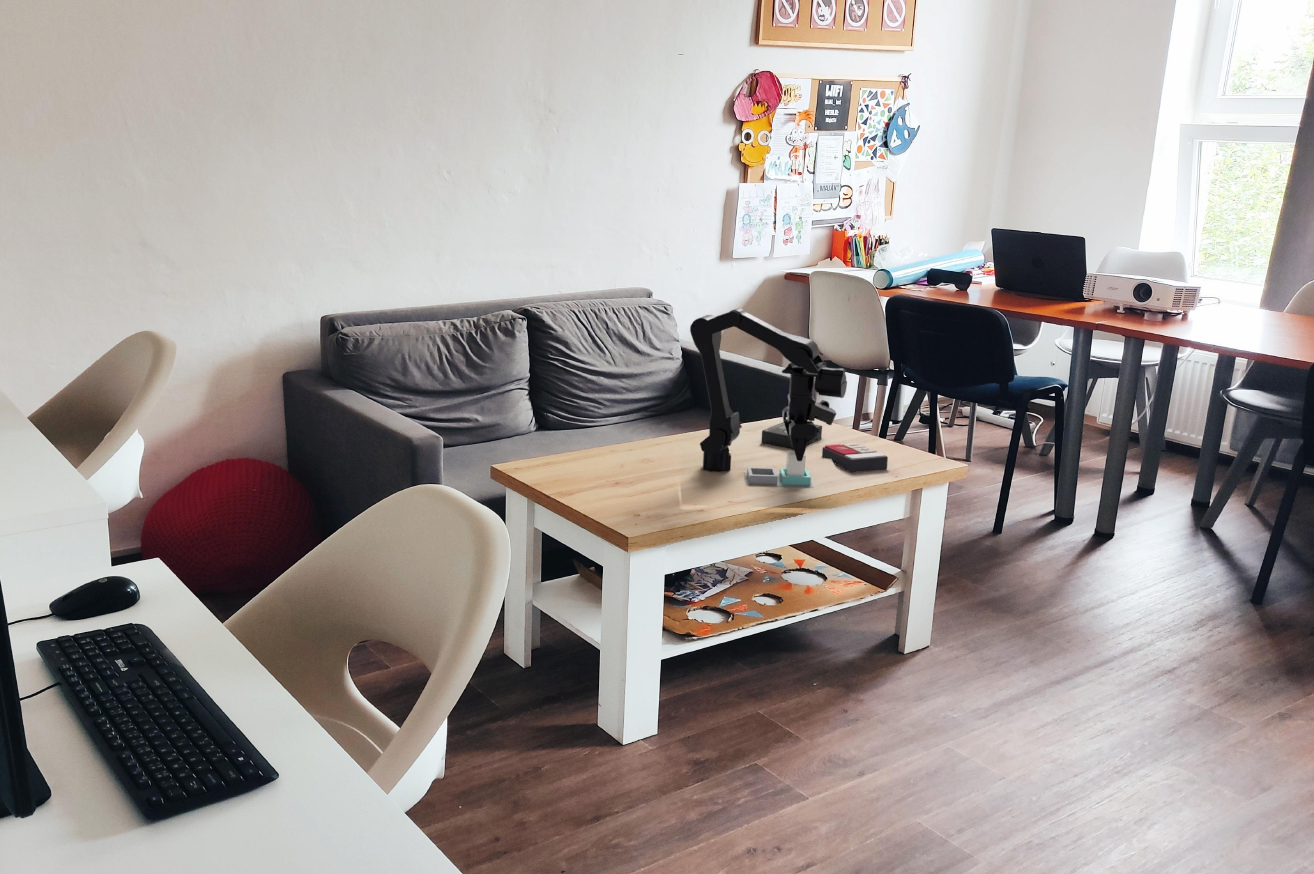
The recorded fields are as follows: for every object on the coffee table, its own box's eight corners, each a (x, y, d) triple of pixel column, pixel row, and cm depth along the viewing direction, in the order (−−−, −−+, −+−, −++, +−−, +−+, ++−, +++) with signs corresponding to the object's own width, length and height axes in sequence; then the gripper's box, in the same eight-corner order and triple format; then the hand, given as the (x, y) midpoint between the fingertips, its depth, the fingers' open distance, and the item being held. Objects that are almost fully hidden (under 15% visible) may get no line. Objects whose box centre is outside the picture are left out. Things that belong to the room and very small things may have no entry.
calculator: (857, 441, 294) (888, 454, 281) (856, 457, 295) (887, 470, 281) (822, 444, 290) (851, 457, 277) (821, 460, 291) (850, 473, 277)
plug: (787, 482, 264) (789, 455, 262) (785, 477, 268) (787, 450, 266) (803, 483, 264) (805, 455, 262) (801, 478, 268) (803, 450, 266)
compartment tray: (746, 489, 261) (747, 477, 261) (743, 476, 271) (744, 465, 270) (813, 491, 262) (814, 479, 261) (808, 478, 271) (808, 467, 270)
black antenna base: (800, 452, 295) (804, 390, 291) (755, 442, 303) (759, 382, 298) (833, 437, 311) (837, 378, 306) (789, 428, 319) (793, 371, 314)
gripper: (841, 403, 251) (836, 467, 255) (829, 385, 269) (824, 446, 273) (793, 401, 251) (788, 466, 255) (784, 383, 269) (780, 444, 273)
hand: (797, 455), depth 264 cm, fingers open, 9 cm apart
